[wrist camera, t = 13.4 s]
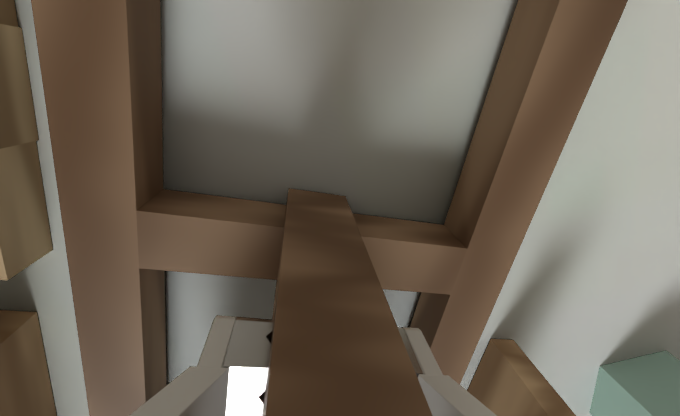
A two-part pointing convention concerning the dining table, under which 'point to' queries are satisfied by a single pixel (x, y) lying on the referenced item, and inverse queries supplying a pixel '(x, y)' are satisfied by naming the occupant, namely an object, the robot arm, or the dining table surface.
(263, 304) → the dining table surface
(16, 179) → the tan blocky wooden part
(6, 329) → the frame
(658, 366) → the teal cube
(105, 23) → the brown rectangular open frame
